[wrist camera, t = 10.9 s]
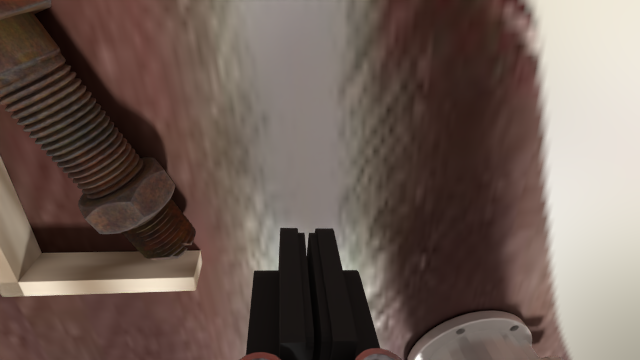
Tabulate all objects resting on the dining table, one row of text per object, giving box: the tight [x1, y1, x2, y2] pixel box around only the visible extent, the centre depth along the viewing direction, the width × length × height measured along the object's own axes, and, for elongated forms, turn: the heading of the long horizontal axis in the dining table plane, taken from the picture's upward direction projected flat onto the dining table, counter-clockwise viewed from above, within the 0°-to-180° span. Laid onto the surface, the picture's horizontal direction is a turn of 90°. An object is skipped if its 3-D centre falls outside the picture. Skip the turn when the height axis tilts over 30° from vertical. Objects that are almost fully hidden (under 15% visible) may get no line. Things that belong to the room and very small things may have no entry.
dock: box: [0, 156, 202, 297], centre depth 17 cm, size 11×22×2 cm, turn 175°
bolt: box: [0, 0, 196, 260], centre depth 17 cm, size 6×5×15 cm
